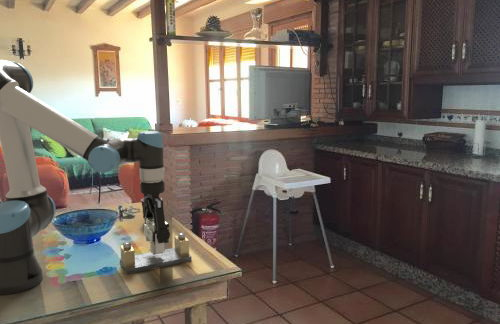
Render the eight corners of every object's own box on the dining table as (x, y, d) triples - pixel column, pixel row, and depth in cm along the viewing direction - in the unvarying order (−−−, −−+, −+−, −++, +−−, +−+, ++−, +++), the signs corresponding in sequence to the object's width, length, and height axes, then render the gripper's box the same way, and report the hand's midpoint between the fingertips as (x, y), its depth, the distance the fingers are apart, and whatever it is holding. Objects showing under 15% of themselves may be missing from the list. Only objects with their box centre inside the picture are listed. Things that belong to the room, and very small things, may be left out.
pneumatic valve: (156, 244, 147) (157, 211, 145) (170, 257, 138) (170, 222, 135) (141, 247, 144) (141, 213, 142) (153, 261, 135) (154, 224, 132)
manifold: (127, 274, 132) (125, 249, 131) (120, 262, 141) (118, 239, 140) (191, 260, 142) (190, 237, 141) (181, 250, 151) (180, 228, 149)
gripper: (175, 186, 128) (177, 256, 132) (153, 172, 148) (156, 233, 152) (150, 189, 125) (153, 261, 129) (131, 174, 145) (134, 237, 149)
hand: (155, 246), depth 141 cm, fingers closed on pneumatic valve, 11 cm apart
